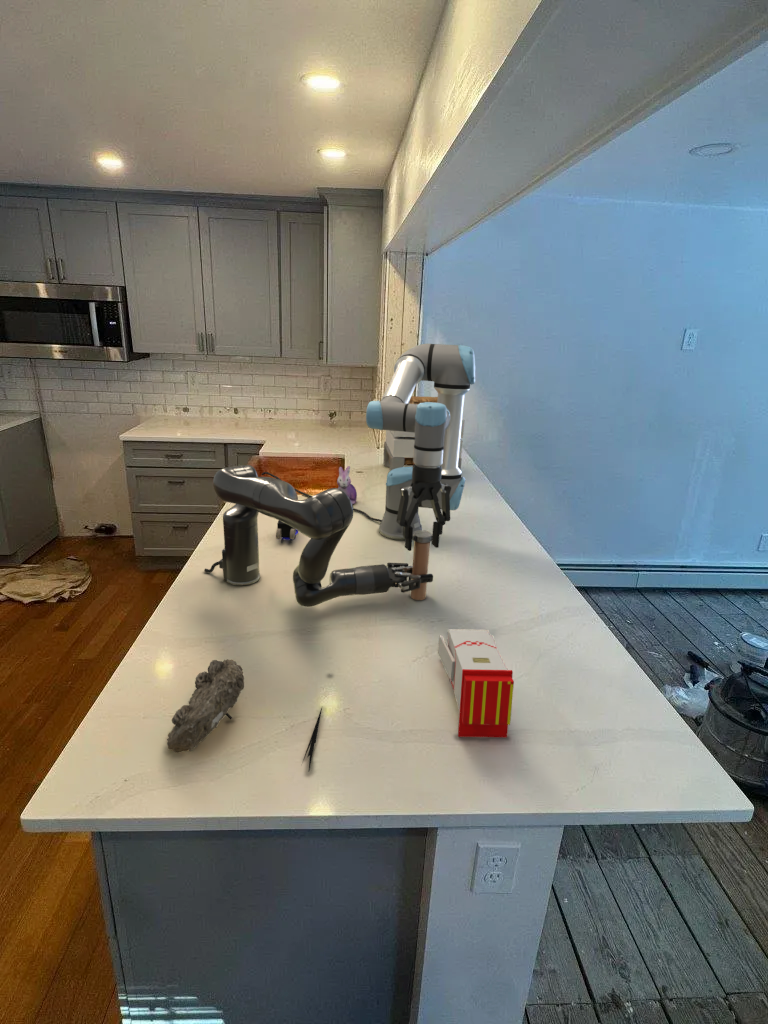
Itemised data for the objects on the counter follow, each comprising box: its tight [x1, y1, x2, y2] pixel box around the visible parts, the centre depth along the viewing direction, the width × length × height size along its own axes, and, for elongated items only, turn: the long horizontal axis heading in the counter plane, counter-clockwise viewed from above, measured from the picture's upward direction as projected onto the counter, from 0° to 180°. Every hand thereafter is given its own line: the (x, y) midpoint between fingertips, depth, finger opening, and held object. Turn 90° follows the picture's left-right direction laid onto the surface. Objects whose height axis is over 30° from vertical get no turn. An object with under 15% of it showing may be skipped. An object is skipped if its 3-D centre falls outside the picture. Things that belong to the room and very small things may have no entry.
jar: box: [409, 540, 431, 601], centre depth 154 cm, size 4×4×18 cm
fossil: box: [166, 658, 245, 754], centre depth 106 cm, size 22×10×15 cm
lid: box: [412, 529, 433, 543], centre depth 151 cm, size 5×5×2 cm
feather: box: [301, 673, 332, 771], centre depth 108 cm, size 2×28×2 cm
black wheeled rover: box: [275, 520, 299, 544], centre depth 191 cm, size 7×8×15 cm
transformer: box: [383, 395, 465, 472], centre depth 268 cm, size 34×33×41 cm
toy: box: [437, 628, 515, 738], centre depth 117 cm, size 12×13×30 cm
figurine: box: [336, 465, 358, 505], centre depth 226 cm, size 9×10×15 cm
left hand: (428, 573), depth 156 cm, fingers closed on jar, 4 cm apart
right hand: (421, 547), depth 152 cm, fingers open, 7 cm apart
